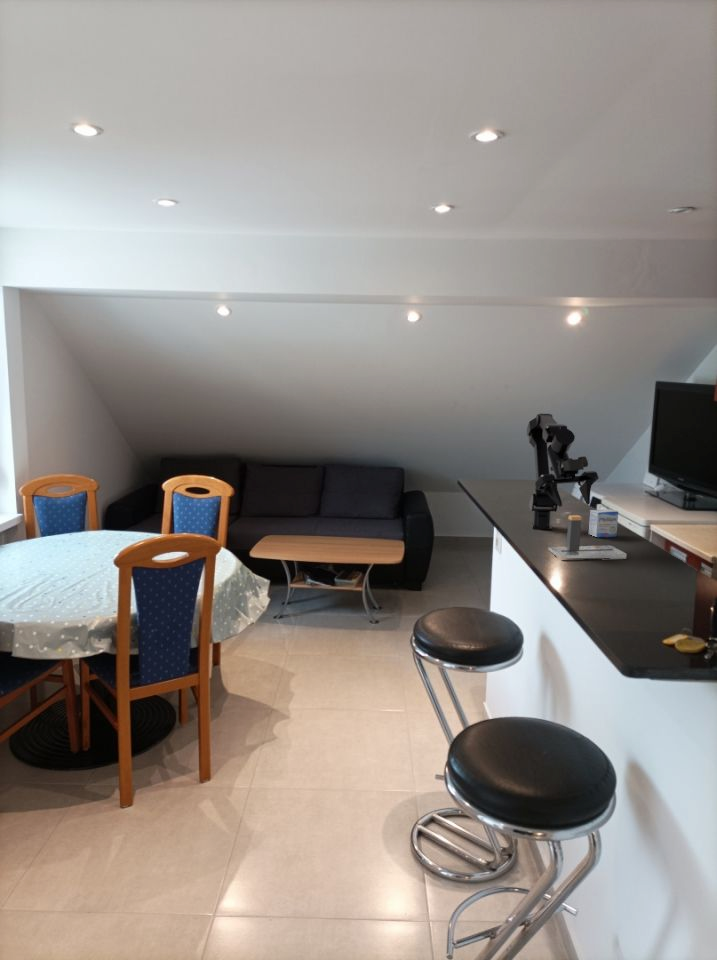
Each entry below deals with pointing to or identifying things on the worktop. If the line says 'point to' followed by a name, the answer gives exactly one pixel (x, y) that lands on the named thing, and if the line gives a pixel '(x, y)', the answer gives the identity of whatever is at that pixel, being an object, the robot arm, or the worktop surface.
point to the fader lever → (573, 532)
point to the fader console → (589, 552)
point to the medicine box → (603, 523)
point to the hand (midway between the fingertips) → (574, 505)
